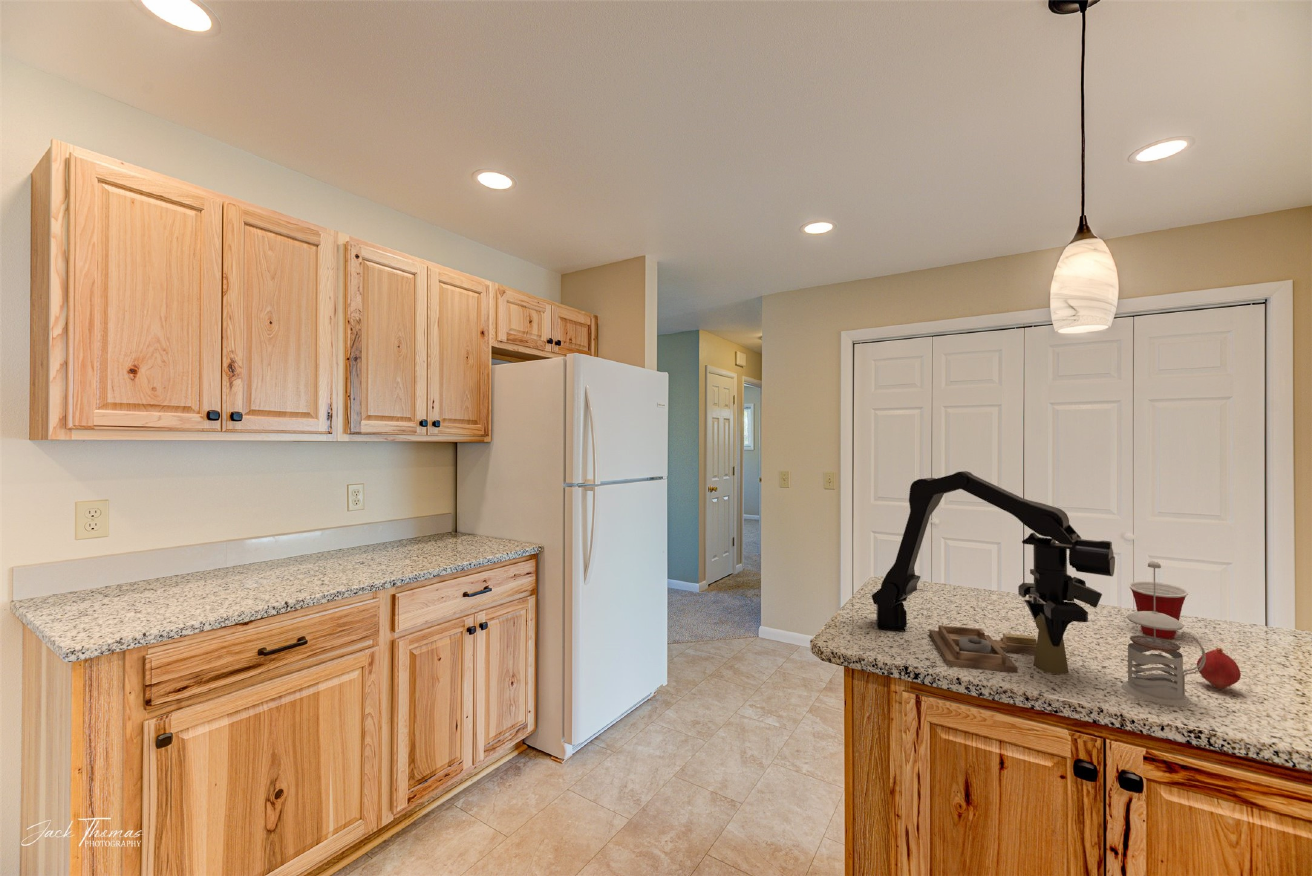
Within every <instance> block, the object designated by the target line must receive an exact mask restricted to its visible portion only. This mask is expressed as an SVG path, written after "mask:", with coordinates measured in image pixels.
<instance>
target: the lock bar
mask: <svg viewBox="0 0 1312 876" xmlns="http://www.w3.org/2000/svg"><path fill="white" fill-rule="evenodd" d="M1002 638H1003V642H1004V644H1005V645H1006V643H1011V644H1022V645H1033V646H1036V644H1037V638H1036V637H1035V636H1034V635H1031V634H1030V635H1029V634H1017V633H1006V632H1005V633H1004V632H1003V633H1002Z"/></svg>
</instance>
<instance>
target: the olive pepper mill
mask: <svg viewBox="0 0 1312 876" xmlns="http://www.w3.org/2000/svg"><path fill="white" fill-rule="evenodd" d="M1034 622H1035V626H1036V629H1037V630H1038V634H1037V638H1036V639H1037V644H1036V650H1035V655H1034V657H1033V658H1034V659H1033V667H1034V668H1035V669H1037V670H1039V671H1042V672H1044V673H1045V672H1046V673H1048V674H1053V675H1066V674H1069V672H1070V671H1069V665H1068V659H1067V652H1066V646H1065V640H1064V637H1063V638H1062V640H1061V643H1060V646H1059V647H1056V646H1053V645H1052V643H1051V641H1050V638H1049V636H1048V633H1047V631H1046V628H1045V625H1044V623H1043V620H1042V617H1041V615H1038V616H1037V617H1036V620H1034Z"/></svg>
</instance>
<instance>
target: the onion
mask: <svg viewBox="0 0 1312 876" xmlns="http://www.w3.org/2000/svg"><path fill="white" fill-rule="evenodd" d="M1205 653H1206V662H1205V664H1204V667H1203V668H1202V669H1201V670H1200V671H1198V673H1199V674H1200V675H1201V677H1202V678H1203V679H1204V680H1206V681H1207V682H1208V683H1209V684H1210V685H1212V686H1213V687H1214V688H1215V689H1218V690H1224V689H1227V688H1228V687H1231V686H1232V685H1234V684H1235V685H1236V684H1237V683H1238V682H1239V681H1240V680H1241V675H1242V674H1241V670H1240V667H1239V665H1238V664H1237V663H1236V661H1235V660H1234V659H1233V658H1232V657H1231V656H1229V655H1227V654H1226V653H1225V652H1224V651H1223V648H1222V647H1216V648H1215V649H1212V650H1209V651H1205ZM1201 660H1202V655H1201V656H1200V657H1199V658H1198V659H1197V661H1196V667H1197V666H1198V665H1199V663H1200V662H1201ZM1202 664H1203V663H1202ZM1202 664H1201V665H1202ZM1200 667H1201V666H1200ZM1200 667H1199V668H1200ZM1199 668H1197V669H1196V670H1199Z"/></svg>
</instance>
